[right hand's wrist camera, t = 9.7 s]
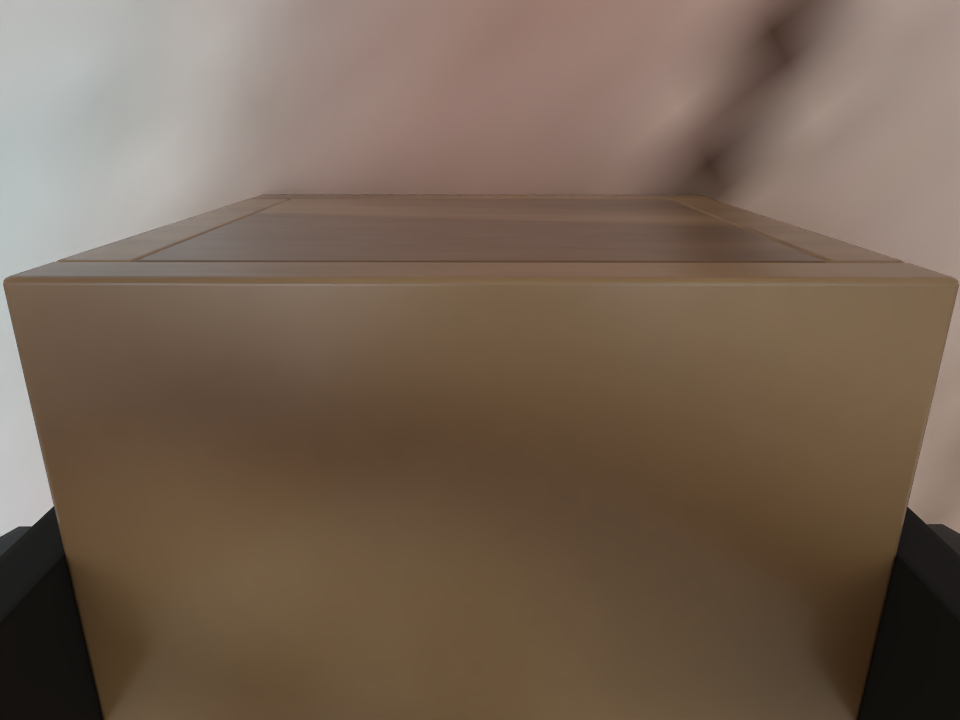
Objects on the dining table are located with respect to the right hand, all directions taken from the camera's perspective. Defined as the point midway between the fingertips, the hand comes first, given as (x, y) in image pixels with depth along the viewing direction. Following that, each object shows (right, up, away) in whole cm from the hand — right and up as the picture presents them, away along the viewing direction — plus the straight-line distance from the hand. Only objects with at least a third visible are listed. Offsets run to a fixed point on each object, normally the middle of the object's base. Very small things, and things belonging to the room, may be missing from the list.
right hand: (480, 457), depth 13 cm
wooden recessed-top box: (0, -4, +6) cm, 7 cm away
